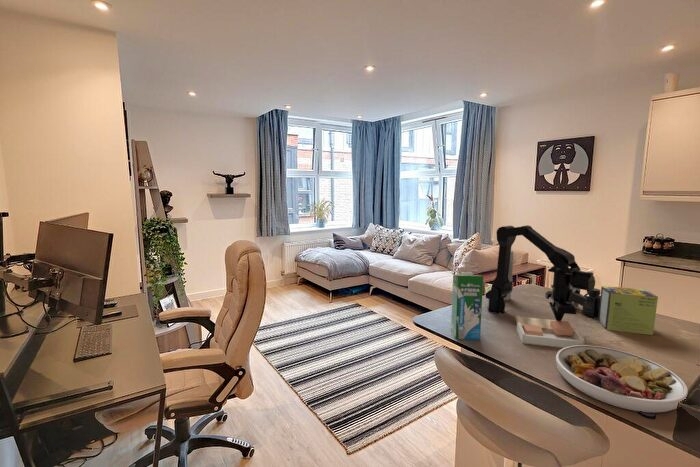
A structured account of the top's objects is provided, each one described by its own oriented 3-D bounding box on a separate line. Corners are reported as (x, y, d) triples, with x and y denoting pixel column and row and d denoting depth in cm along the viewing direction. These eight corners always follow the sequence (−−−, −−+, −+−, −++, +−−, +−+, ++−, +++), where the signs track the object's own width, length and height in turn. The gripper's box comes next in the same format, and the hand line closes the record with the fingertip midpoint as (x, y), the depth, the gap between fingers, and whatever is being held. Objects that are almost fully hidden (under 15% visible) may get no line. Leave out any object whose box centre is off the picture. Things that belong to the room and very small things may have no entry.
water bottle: (491, 297, 176) (494, 249, 172) (504, 295, 178) (507, 248, 175) (504, 303, 167) (507, 253, 164) (517, 301, 170) (521, 252, 166)
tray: (522, 343, 126) (522, 335, 125) (516, 329, 137) (517, 322, 137) (585, 350, 120) (585, 342, 119) (574, 336, 131) (574, 328, 131)
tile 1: (525, 336, 130) (525, 330, 130) (522, 330, 136) (522, 324, 136) (543, 338, 129) (543, 332, 128) (539, 331, 134) (539, 325, 134)
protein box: (653, 335, 131) (659, 296, 129) (606, 330, 136) (610, 292, 134) (641, 324, 141) (645, 288, 139) (597, 320, 146) (600, 285, 144)
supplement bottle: (604, 318, 148) (607, 291, 146) (588, 318, 148) (591, 291, 146) (593, 312, 155) (596, 286, 153) (578, 312, 155) (580, 286, 153)
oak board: (519, 330, 137) (519, 325, 136) (515, 320, 146) (515, 316, 146) (571, 335, 131) (571, 331, 131) (563, 325, 141) (563, 321, 141)
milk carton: (473, 329, 137) (476, 269, 134) (480, 340, 129) (483, 275, 125) (450, 329, 138) (453, 269, 135) (455, 339, 129) (458, 275, 126)
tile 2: (555, 334, 129) (556, 328, 129) (549, 325, 135) (550, 320, 134) (573, 335, 128) (573, 329, 128) (566, 327, 134) (567, 321, 133)
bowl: (562, 350, 121) (564, 329, 120) (678, 380, 103) (682, 355, 101) (546, 389, 98) (548, 364, 97) (692, 437, 80) (697, 406, 78)
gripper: (595, 293, 121) (590, 335, 124) (577, 279, 139) (573, 316, 141) (559, 291, 125) (556, 331, 127) (546, 277, 142) (543, 313, 144)
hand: (558, 322), depth 135 cm, fingers closed
